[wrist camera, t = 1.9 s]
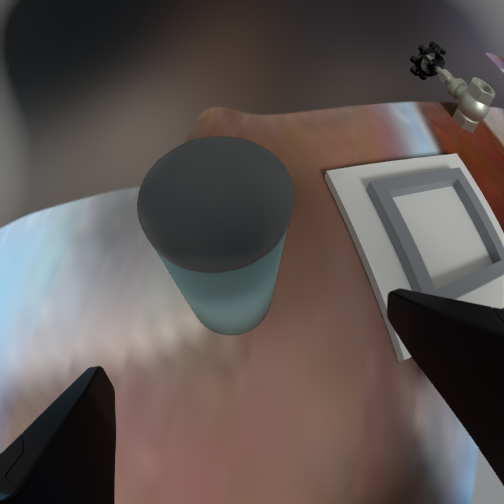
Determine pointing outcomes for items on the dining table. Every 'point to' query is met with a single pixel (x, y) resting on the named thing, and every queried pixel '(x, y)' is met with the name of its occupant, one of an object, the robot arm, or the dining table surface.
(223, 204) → the cup
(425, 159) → the dock
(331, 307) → the dining table surface
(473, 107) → the valve
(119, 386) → the dining table surface
